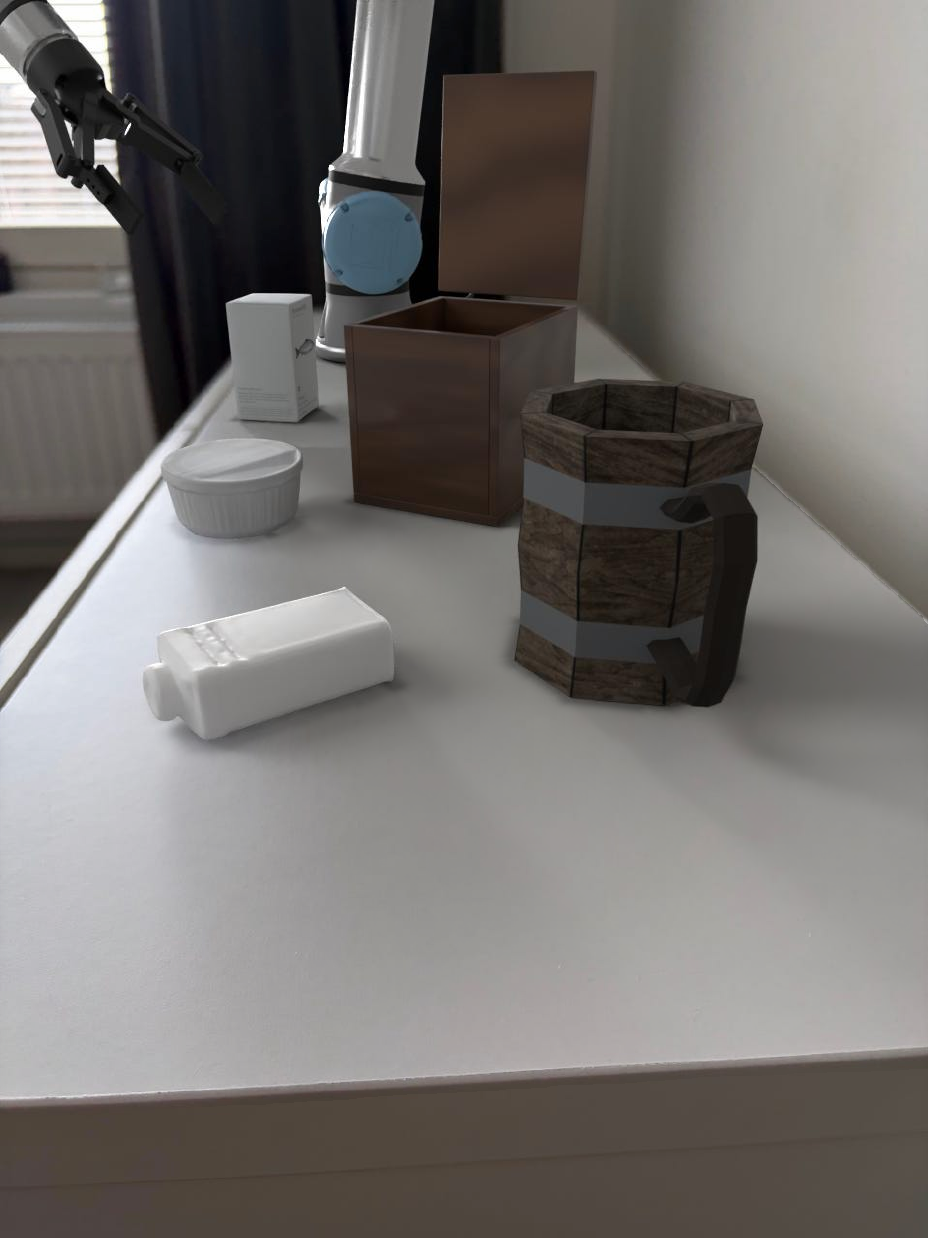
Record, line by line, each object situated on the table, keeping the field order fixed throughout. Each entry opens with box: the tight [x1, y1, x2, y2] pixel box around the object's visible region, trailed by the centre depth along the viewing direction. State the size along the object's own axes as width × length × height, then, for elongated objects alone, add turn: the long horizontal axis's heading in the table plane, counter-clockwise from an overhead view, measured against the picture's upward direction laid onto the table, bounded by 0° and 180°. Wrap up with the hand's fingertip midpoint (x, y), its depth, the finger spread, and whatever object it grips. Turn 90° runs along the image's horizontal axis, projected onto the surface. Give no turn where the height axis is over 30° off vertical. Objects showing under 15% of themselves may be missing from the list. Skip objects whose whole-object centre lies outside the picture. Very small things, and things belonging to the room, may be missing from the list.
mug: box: [513, 378, 764, 708], centre depth 53 cm, size 20×14×15 cm
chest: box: [344, 295, 579, 527], centre depth 83 cm, size 17×14×15 cm
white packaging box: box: [225, 292, 320, 423], centre depth 106 cm, size 7×7×13 cm
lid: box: [437, 69, 598, 301], centre depth 83 cm, size 18×14×1 cm
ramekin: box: [160, 438, 304, 540], centre depth 78 cm, size 11×11×5 cm
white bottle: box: [142, 586, 395, 741], centre depth 53 cm, size 6×13×4 cm, turn 123°
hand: (181, 220), depth 104 cm, fingers open, 13 cm apart
